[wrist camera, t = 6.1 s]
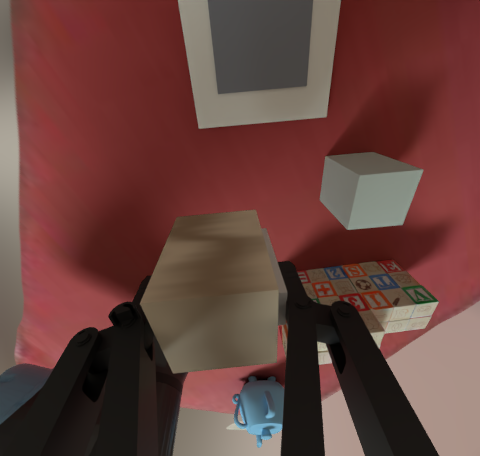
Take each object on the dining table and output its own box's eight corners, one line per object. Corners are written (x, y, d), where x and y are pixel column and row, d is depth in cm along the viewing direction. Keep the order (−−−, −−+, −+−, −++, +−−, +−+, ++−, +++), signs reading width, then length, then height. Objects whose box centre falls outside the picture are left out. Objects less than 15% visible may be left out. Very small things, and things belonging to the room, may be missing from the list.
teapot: (270, 364, 53) (277, 421, 43) (294, 387, 59) (305, 442, 49) (228, 379, 56) (227, 435, 47) (255, 400, 62) (258, 454, 52)
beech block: (192, 275, 19) (173, 373, 12) (176, 217, 16) (139, 303, 9) (258, 269, 19) (276, 362, 12) (255, 209, 16) (278, 289, 9)
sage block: (319, 200, 29) (347, 229, 23) (325, 156, 26) (359, 175, 20) (362, 196, 30) (402, 224, 23) (372, 151, 26) (423, 169, 20)
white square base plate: (200, 127, 24) (198, 128, 23) (165, -89, 16) (160, -104, 15) (322, 116, 24) (327, 117, 23) (347, -104, 16) (356, -120, 15)
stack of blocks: (393, 257, 36) (462, 322, 25) (385, 283, 39) (443, 350, 29) (269, 273, 36) (287, 343, 26) (271, 298, 40) (287, 369, 29)
